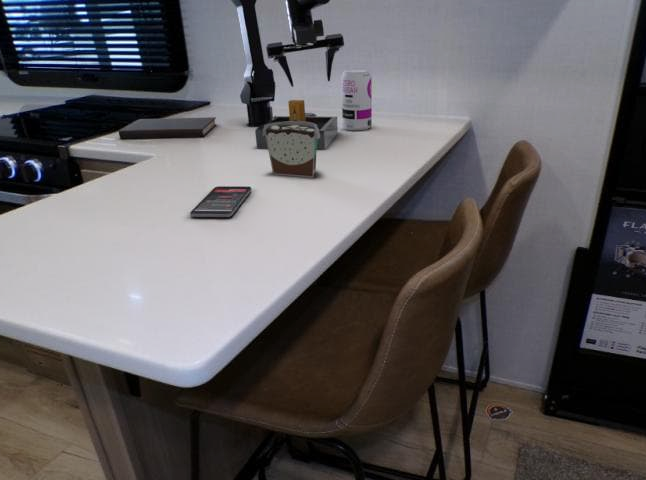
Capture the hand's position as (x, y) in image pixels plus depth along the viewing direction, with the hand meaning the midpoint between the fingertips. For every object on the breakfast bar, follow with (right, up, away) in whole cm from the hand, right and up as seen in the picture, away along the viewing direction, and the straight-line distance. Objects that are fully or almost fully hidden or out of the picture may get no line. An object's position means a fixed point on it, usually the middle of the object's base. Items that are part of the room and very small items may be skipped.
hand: (310, 84), depth 131 cm
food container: (-1, -27, -18) cm, 33 cm away
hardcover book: (-42, -6, +19) cm, 46 cm away
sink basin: (-4, -12, +6) cm, 14 cm away
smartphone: (-13, -36, -35) cm, 52 cm away
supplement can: (+12, -5, +18) cm, 22 cm away
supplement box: (-4, -12, +6) cm, 14 cm away
